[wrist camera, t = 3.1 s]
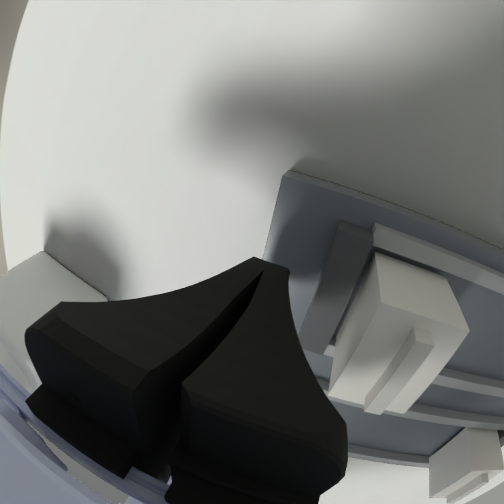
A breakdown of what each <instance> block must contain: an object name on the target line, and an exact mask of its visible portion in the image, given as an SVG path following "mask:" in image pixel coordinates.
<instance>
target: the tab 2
mask: <svg viewBox="0 0 504 504" xmlns="http://www.w3.org/2000/svg"><path fill="white" fill-rule="evenodd" d="M503 470H504V464H503V458H502V452H501V446H500V441H499V436H498V431H497V430H492V429H480V428H470V427H465V428H464V429H463V430H462V431H461V432H460V433H459V434H458V435H457V436H455V437H454V438H453V439H452V440H451V441H450V442H448V443H447V444H446V445H445V446H444V447H442V448H441V449H440V450H439V451H437V452H436V453H435V454H434V455H432V456H431V457H430V458H429V498H447V503H454V502H456V501H458V500H460V499H462V498H463V497H465V496H467V495H468V494H470V493H472V492H473V491H475V490H477V489H478V488H480V487H481V486H483V485H484V484H486V483H488V481H489V480H490V479H492V478H493V477H494V476H496V475H497V474H499V473H500V472H502V471H503Z"/></svg>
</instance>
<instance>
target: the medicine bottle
mask: <svg viewBox="0 0 504 504" xmlns="http://www.w3.org/2000/svg"><path fill="white" fill-rule="evenodd" d="M61 301H65V302H107V301H108V299H107V298H106V297H105V296H104V295H102V294H101V293H99V292H98V291H96V290H95V289H94V288H92V287H91V286H89V285H88V284H87V283H85V282H84V281H82V280H81V279H80V278H78V277H77V276H75V275H74V274H73V273H71V272H70V271H69V270H67V269H66V268H65V267H63V266H62V265H61V264H59V263H58V262H57V261H56V260H54V259H53V258H52V257H50V256H49V255H48V254H47V253H45V252H44V251H40V252H39V253H37V254H35V255H34V256H32V257H30V258H29V259H27V260H25V261H24V262H22V263H20V264H19V265H17V266H15V267H14V268H12V269H11V270H9V271H7V272H6V273H4V274H3V275H1V276H0V364H1V365H2V366H3V367H4V368H5V369H6V370H7V371H8V372H9V373H10V374H11V375H12V376H13V377H14V378H15V379H16V380H17V381H18V382H19V383H20V384H21V385H22V386H23V387H24V388H25V389H26V390H28V391H29V392H30V393H31V394H32V393H33V392H34V391H35V390H36V389H37V388H38V387H39V386H40V385H41V384H42V382H41V380H40V378H39V376H38V374H37V372H36V370H35V368H34V366H33V363H32V361H31V359H30V357H29V354H28V352H27V349H26V346H25V339H24V334H25V331H26V329H27V328H28V327H29V326H31V325H32V324H33V323H34V322H36V321H37V320H38V319H39V318H41V317H42V316H43V315H44V314H46V313H47V312H48V311H49V310H51V309H52V308H53V307H55V306H56V305H57V304H59V303H60V302H61Z"/></svg>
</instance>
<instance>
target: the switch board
mask: <svg viewBox="0 0 504 504" xmlns="http://www.w3.org/2000/svg"><path fill="white" fill-rule="evenodd" d="M374 252H378V253H380V254H383V255H386V256H389V257H392V258H395V259H398V260H400V261H403V262H406V263H409V264H412V265H414V266H417V267H420V268H423V269H425V270H428V271H431V272H434V273H436V274H439V275H442V276H444V277H446V279H447V281H448V283H449V285H450V287H451V289H452V291H453V293H454V296H455V298H456V300H457V302H458V304H459V307H460V309H461V311H462V313H463V316H464V318H465V320H466V323H467V325H468V328H469V330H470V331H469V333H468V334H467V336H466V337H465V339H464V340H463V342H462V343H461V344H460V346H459V347H458V349H457V350H456V351H455V353H454V354H453V356H452V357H451V358H450V360H449V361H448V362H447V364H446V365H445V366H444V367H443V369H442V370H441V371H440V373H439V374H438V375H437V376H436V378H435V379H434V380H433V381H432V383H431V384H430V385H429V386H428V387H427V389H426V390H425V391H424V392H423V393H422V394H421V395H420V397H419V398H418V399H417V400H416V401H415V402H414V403H413V404H412V406H411V407H410V408H409V409H408V410H407V411H406V412H405V413H404V414H402V413H397V412H392V411H387V410H384V411H383V412H382V414H381V415H378V414H373V413H369V412H365V411H364V405H362V404H357V403H354V402H350V401H346V400H342V399H338V398H335V397H331V396H328V390H329V384H330V378H331V371H332V365H333V358H334V351H335V343H336V336H337V334H338V332H339V330H340V328H341V326H342V324H343V322H344V320H345V318H346V316H347V313H348V311H349V309H350V307H351V305H352V303H353V301H354V298H355V296H356V294H357V292H358V289H359V287H360V285H361V283H362V280H363V278H364V276H365V273H366V271H367V269H368V266H369V264H370V261H371V259H372V257H373V254H374ZM262 260H265V261H268V262H271V263H274V264H277V265H280V266H283V267H286V268H288V269H289V270H290V275H289V297H290V305H291V311H292V315H293V320H294V324H295V328H296V331H297V335H298V338H299V341H300V344H301V346H302V349H303V351H304V354H305V356H306V359H307V361H308V363H309V365H310V367H311V369H312V371H313V373H314V375H315V377H316V379H317V381H318V383H319V384H320V386H321V388H322V389H323V391H324V393H325V394H326V396H327V397H328V399H329V400H330V402H331V403H332V404H333V406H334V407H335V408H336V410H337V411H338V412H339V414H340V415H341V416H342V418H343V419H344V420H345V422H346V424H347V435H348V457H353V458H358V459H363V460H369V461H375V462H382V463H389V464H396V465H404V466H414V467H425V468H429V458H430V457H431V456H432V455H434V454H435V453H436V452H437V451H439V450H440V449H441V448H442V447H444V446H445V445H446V444H447V443H448V442H450V441H451V440H452V439H453V438H454V437H455V436H457V435H458V434H459V433H460V432H461V431H462V430H463V429H464V428H465V427H470V428H480V429H492V430H497V431H498V436H499V441H500V446H501V447H502V446H503V445H504V251H503V250H501V249H499V248H497V247H495V246H493V245H491V244H489V243H487V242H485V241H482V240H480V239H478V238H476V237H474V236H472V235H469V234H467V233H465V232H463V231H460V230H458V229H456V228H453V227H451V226H449V225H446V224H444V223H441V222H439V221H437V220H434V219H432V218H429V217H427V216H424V215H422V214H419V213H417V212H414V211H411V210H409V209H406V208H403V207H401V206H398V205H395V204H393V203H390V202H387V201H384V200H382V199H379V198H376V197H373V196H370V195H367V194H364V193H362V192H359V191H356V190H353V189H350V188H346V187H343V186H340V185H337V184H334V183H331V182H328V181H324V180H321V179H318V178H315V177H311V176H308V175H304V174H301V173H297V172H294V171H290V170H289V171H287V172H286V173H285V174H284V175H283V176H282V180H281V184H280V188H279V193H278V197H277V201H276V205H275V209H274V213H273V217H272V222H271V226H270V230H269V234H268V238H267V242H266V246H265V250H264V254H263V258H262Z"/></svg>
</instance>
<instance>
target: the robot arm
mask: <svg viewBox="0 0 504 504" xmlns="http://www.w3.org/2000/svg"><path fill="white" fill-rule="evenodd" d="M289 275H290V270H289V269H288V268H286V267H283V266H280V265H277V264H274V263H271V262H268V261H265V260H262V259H259V258H256V257H252V258H250V259H248V260H246V261H244V262H242V263H240V264H238V265H236V266H235V267H233V268H231V269H229V270H227V271H224V272H222V273H220V274H218V275H216V276H214V277H211V278H209V279H206V280H204V281H202V282H199V283H197V284H194V285H191V286H188V287H185V288H182V289H178V290H175V291H171V292H167V293H163V294H158V295H153V296H148V297H142V298H137V299H129V300H120V301H107V302H65V301H61V302H60V303H59V304H57V305H56V306H55V307H53V308H52V309H51V310H49V311H48V312H47V313H46V314H44V315H43V316H42V317H41V318H39V319H38V320H37V321H36V322H34V323H33V324H32V325H31V326H29V327H28V328H27V329H26V331H25V334H24V339H25V346H26V349H27V352H28V354H29V357H30V359H31V361H32V363H33V366H34V368H35V370H36V372H37V374H38V376H39V378H40V380H41V382H42V384H41V385H40V386H39V387H38V388H37V389H36V390H35V391H34V392H33V393H32V394H31V393H30V392H29V391H28V390H26V389H25V388H24V387H23V386H22V385H21V384H20V383H19V382H18V381H17V380H16V379H15V378H14V377H13V376H12V375H11V374H10V373H9V372H8V371H7V370H6V369H5V368H4V367H3V366H2V365H1V364H0V504H113V503H112V502H110V501H109V500H107V499H105V498H104V497H102V496H101V495H99V494H98V493H96V492H95V491H93V490H91V489H90V488H89V487H87V486H85V485H84V484H83V483H81V482H80V481H79V480H77V479H75V478H74V477H73V476H72V475H70V474H69V473H67V470H68V469H67V466H66V465H65V464H63V462H62V461H60V460H59V458H58V457H57V456H56V455H55V454H54V453H53V452H52V451H51V450H50V449H49V447H48V446H47V445H46V443H45V442H44V440H43V439H42V438H41V437H40V436H39V435H38V434H37V433H36V432H35V431H34V430H33V429H32V428H31V427H30V426H29V425H28V423H27V421H28V422H29V423H30V424H31V425H32V426H33V427H34V428H36V429H37V430H38V431H39V432H40V433H41V434H42V435H43V436H45V437H46V438H47V439H48V440H49V441H51V442H52V443H53V444H54V445H55V446H57V447H58V448H59V449H60V450H62V451H63V452H64V453H66V454H67V455H68V456H70V457H71V458H72V459H74V460H75V461H76V462H78V463H79V464H80V465H82V466H83V467H85V468H86V469H88V470H89V471H91V472H92V473H93V474H95V475H96V476H98V477H100V478H101V479H103V480H104V481H106V482H107V483H109V484H111V485H112V486H114V487H116V488H117V489H119V490H121V491H122V492H124V493H126V494H128V495H129V498H128V499H127V500H126V502H125V504H318V501H319V497H320V495H321V494H323V493H324V492H326V491H327V490H328V489H330V488H331V487H333V486H334V485H336V484H337V483H338V482H339V481H340V480H341V479H342V478H343V477H344V476H345V471H346V468H347V462H348V435H347V424H346V422H345V420H344V419H343V418H342V416H341V415H340V414H339V412H338V411H337V410H336V408H335V407H334V406H333V404H332V403H331V402H330V400H329V399H328V397H327V396H326V394H325V393H324V391H323V389H322V388H321V386H320V384H319V383H318V381H317V379H316V377H315V375H314V373H313V371H312V369H311V367H310V365H309V363H308V361H307V359H306V356H305V354H304V351H303V349H302V346H301V344H300V341H299V338H298V335H297V331H296V328H295V324H294V320H293V315H292V311H291V305H290V297H289ZM119 504H121V503H119Z"/></svg>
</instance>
